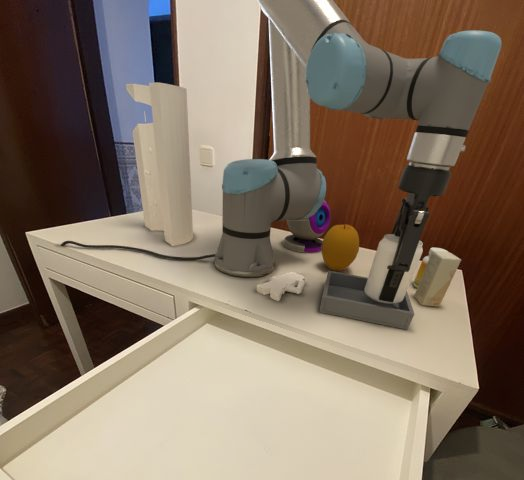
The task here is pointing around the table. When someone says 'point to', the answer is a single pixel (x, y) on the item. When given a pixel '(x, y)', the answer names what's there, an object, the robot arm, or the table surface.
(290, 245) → the webcam
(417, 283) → the supplement bottle
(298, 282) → the white abstract figurine
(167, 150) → the white tall block
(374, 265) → the beverage can
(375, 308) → the tray
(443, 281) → the box
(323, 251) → the apple
